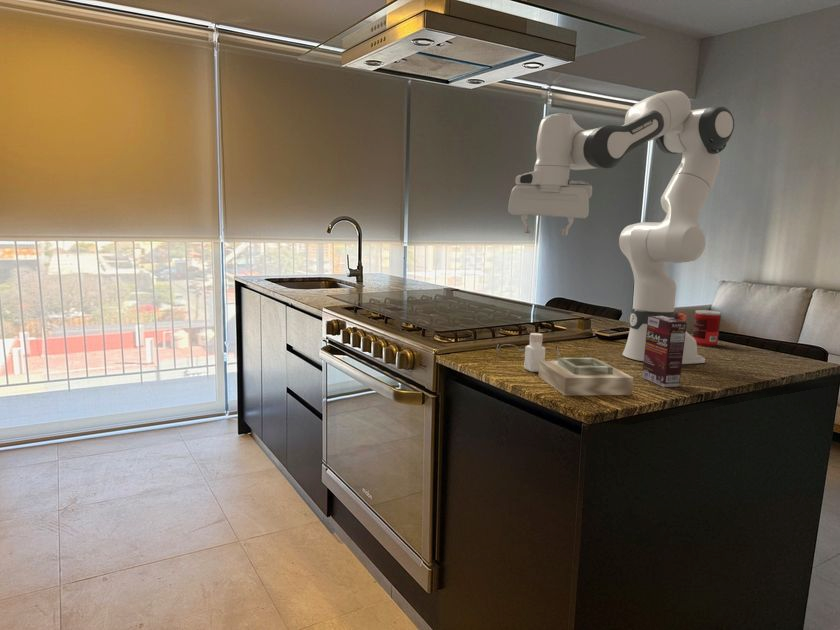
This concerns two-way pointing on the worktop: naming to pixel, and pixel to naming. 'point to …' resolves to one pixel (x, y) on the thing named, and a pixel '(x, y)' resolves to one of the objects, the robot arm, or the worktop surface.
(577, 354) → the worktop surface
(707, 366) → the worktop surface
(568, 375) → the block
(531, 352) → the pepper shaker
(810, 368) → the worktop surface
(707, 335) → the canned food
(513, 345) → the eyeglasses
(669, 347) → the supplement box
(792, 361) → the worktop surface
